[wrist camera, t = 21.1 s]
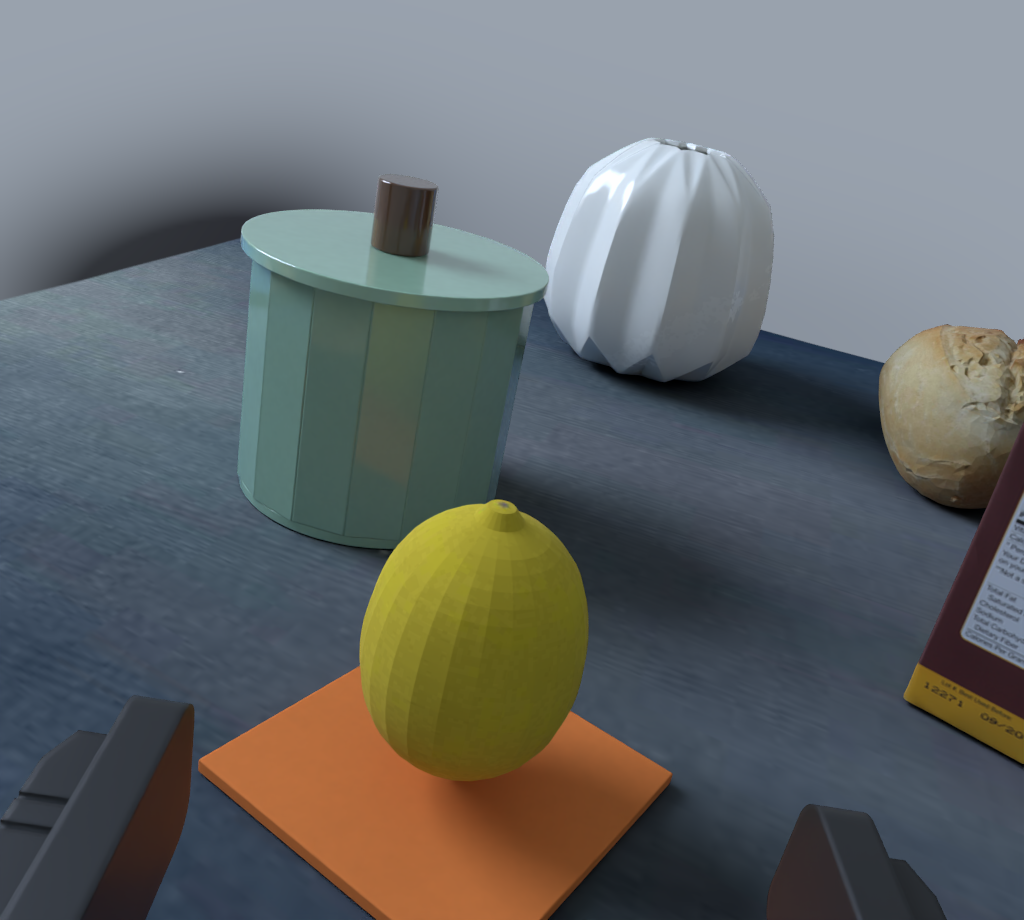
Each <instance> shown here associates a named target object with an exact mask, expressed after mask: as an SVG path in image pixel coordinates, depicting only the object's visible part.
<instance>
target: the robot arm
mask: <svg viewBox="0 0 1024 920" xmlns="http://www.w3.org/2000/svg"><path fill="white" fill-rule="evenodd" d="M193 732H194V707H193V705H192V704H188V703H181V702H175V701H169V700H162V699H156V698H150V697H143V696H137V695H134V696H132V697H130V699H129V700H128V701H127V702H126V704H125V706H124V707H123V709H122V711H121V712H120V714H119V716H118V717H117V719H116V721H115V723H114V724H113V726H112V728H111V729H110V731H109V733H108V734H100V733H94V732H87V731H81V730H78V731H77V732H75V733H74V734H73V735H71V736H70V737H69V738H67V739H66V740H65V741H63V742H62V743H60V744H59V745H58V746H56V747H55V748H54V749H52V750H51V751H50V752H48V753H47V754H46V755H44V756H43V757H42V758H41V759H40V761H39V762H38V764H37V765H36V767H35V769H34V770H33V772H32V773H31V775H30V776H29V778H28V779H27V781H26V782H25V784H24V785H23V787H22V788H21V790H20V791H19V796H18V798H15V799H14V800H13V802H12V803H11V805H10V806H9V808H8V809H7V811H6V812H5V814H4V816H3V817H2V819H1V822H0V920H145V919H146V917H147V914H148V912H149V910H150V907H151V905H152V903H153V900H154V898H155V896H156V893H157V891H158V889H159V886H160V884H161V882H162V879H163V877H164V874H165V872H166V870H167V867H168V865H169V863H170V860H171V858H172V856H173V853H174V851H175V849H176V846H177V844H178V841H179V838H180V835H181V832H182V829H183V825H184V822H185V817H186V813H187V808H188V803H189V796H190V782H191V765H192V748H193ZM767 920H947V919H946V917H945V915H944V913H943V911H942V908H941V906H940V904H939V902H938V900H937V898H936V896H935V895H934V894H933V892H932V891H931V890H930V889H929V888H928V887H927V885H926V884H925V883H924V882H923V881H922V880H921V878H920V877H919V876H918V875H917V874H916V873H915V871H914V870H913V869H912V868H911V867H910V866H909V864H908V863H907V862H906V861H904V860H898V859H891V858H889V857H888V854H887V852H886V849H885V847H884V845H883V842H882V840H881V838H880V835H879V833H878V831H877V828H876V826H875V824H874V822H873V820H872V819H871V817H870V816H869V815H868V814H866V813H864V812H858V811H852V810H846V809H839V808H833V807H827V806H820V805H814V804H809V805H806V806H805V807H804V808H803V810H802V811H801V813H800V815H799V818H798V820H797V822H796V825H795V827H794V830H793V832H792V834H791V837H790V839H789V842H788V844H787V846H786V849H785V851H784V854H783V856H782V858H781V861H780V863H779V866H778V868H777V870H776V873H775V875H774V878H773V880H772V883H771V885H770V889H769V893H768V899H767Z"/></svg>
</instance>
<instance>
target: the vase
mask: <svg viewBox="0 0 1024 920" xmlns="http://www.w3.org/2000/svg"><path fill="white" fill-rule="evenodd" d="M773 247H774V232H773V225H772V213H771V207H770V204H769V203H768V201H767V199H766V198H765V196H764V194H763V193H762V191H761V189H760V188H759V186H758V185H757V183H756V182H755V180H754V179H753V177H752V176H751V175H750V174H749V172H748V171H747V170H746V169H745V168H744V167H743V165H742V164H741V163H740V162H739V161H738V160H737V159H735V158H734V157H732V156H730V155H728V154H727V153H725V152H721V151H717V150H714V149H711V148H710V149H709V148H707V147H704V146H699V145H695V144H690V143H685V142H680V141H674V140H669V139H659V138H648V139H643V140H641V141H638V142H636V143H633V144H631V145H629V146H627V147H624V148H622V149H620V150H618V151H616V152H614V153H612V154H611V155H609V156H607V157H605V158H604V159H602V160H600V161H599V162H597V163H595V164H594V165H592V166H590V167H589V168H588V169H587V171H586V173H585V174H584V175H583V176H582V178H581V179H580V180H579V182H578V183H577V184H576V186H575V188H574V190H573V192H572V194H571V196H570V198H569V200H568V202H567V204H566V206H565V209H564V212H563V214H562V216H561V219H560V221H559V224H558V226H557V229H556V232H555V235H554V238H553V242H552V244H551V247H550V251H549V253H548V258H547V263H546V268H545V269H546V271H547V273H548V275H549V285H548V290H547V293H546V294H545V296H544V300H545V302H546V305H547V308H548V312H549V315H550V318H551V320H552V323H553V325H554V327H555V329H556V331H557V333H558V335H559V337H560V338H561V340H562V341H564V342H565V343H567V344H568V345H570V346H571V347H572V348H573V350H574V351H575V352H576V353H577V354H578V356H579V357H581V358H583V359H586V360H589V361H592V362H596V363H599V364H603V365H606V366H610V367H612V368H613V369H614V370H615V371H616V372H617V373H621V374H629V375H640V376H643V377H646V378H650V379H653V380H656V381H660V382H667V381H670V380H672V379H676V380H684V381H693V382H695V381H701V380H704V379H707V378H709V377H711V376H713V375H714V374H716V373H718V372H720V371H722V370H724V369H726V368H727V367H729V366H731V365H732V364H734V363H736V362H737V361H739V360H741V359H742V358H744V357H745V356H747V355H749V353H750V351H751V349H752V347H753V345H754V343H755V341H756V339H757V337H758V334H759V331H760V328H761V325H762V321H763V318H764V315H765V310H766V304H767V299H768V294H769V288H770V281H771V270H772V263H773Z"/></svg>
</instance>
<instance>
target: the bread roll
mask: <svg viewBox="0 0 1024 920" xmlns="http://www.w3.org/2000/svg"><path fill="white" fill-rule="evenodd" d="M879 406H880V417H881V425H882V430H883V434H884V438H885V442H886V444H887V447H888V450H889V453H890V455H891V457H892V460H893V462H894V464H895V466H896V468H897V470H898V471H899V473H900V475H901V476H902V477H903V479H904V480H905V481H906V482H907V483H908V484H909V485H910V486H911V487H913V488H915V489H916V490H917V491H918V492H919V493H920V494H921V495H923V496H926V497H928V498H930V499H932V500H933V501H935V502H937V503H940V504H942V505H945V506H950V507H955V508H964V509H978V508H987V506H988V503H989V501H990V499H991V496H992V494H993V492H994V489H995V487H996V485H997V482H998V480H999V478H1000V475H1001V473H1002V471H1003V468H1004V466H1005V464H1006V461H1007V459H1008V457H1009V454H1010V452H1011V450H1012V447H1013V445H1014V443H1015V440H1016V438H1017V436H1018V433H1019V431H1020V429H1021V426H1022V424H1023V422H1024V339H1023V340H1021V339H1020V340H1018V343H1017V344H1016V343H1015V342H1014V341H1013V340H1012V339H1011V338H1009V337H1008V336H1007V335H1006V334H1005V333H1004V332H1003V331H1002V330H997V329H985V328H974V327H964V326H951V325H948V324H947V325H942V326H938V327H935V328H931V329H928V330H925V331H922V332H920V333H918V334H916V335H915V336H913V337H912V338H911V339H909V340H908V341H907V342H905V343H904V344H903V345H902V346H901V347H899V349H897V350H896V351H895V352H894V353H893V354H892V355H891V356H890V358H889V359H888V360H887V361H886V363H885V364H884V366H883V368H882V370H881V373H880V378H879Z"/></svg>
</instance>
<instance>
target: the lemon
mask: <svg viewBox="0 0 1024 920" xmlns="http://www.w3.org/2000/svg"><path fill="white" fill-rule="evenodd" d="M588 629H589V626H588V608H587V600H586V595H585V591H584V586H583V582H582V578H581V574H580V572H579V569H578V567H577V564H576V563H575V561H574V560H573V558H572V557H571V555H570V553H569V552H568V550H567V549H566V548H565V546H564V545H563V543H562V542H561V541H560V540H559V539H558V538H557V537H556V535H555V534H554V533H552V532H551V531H550V530H549V529H548V528H547V527H546V526H544V525H543V524H542V523H540V522H539V521H538V520H536V519H534V518H533V517H531V516H529V515H527V514H525V513H523V512H520V511H518V509H517V508H516V506H515V505H514V504H512V503H510V502H508V501H505V500H491V501H490V502H488V503H486V504H472V505H465V506H461V507H457V508H453V509H449V510H446V511H444V512H441V513H439V514H437V515H435V516H433V517H431V518H429V519H428V520H426V521H424V522H423V523H421V524H420V525H418V526H417V527H415V528H414V529H413V530H412V531H411V532H410V533H409V534H408V535H407V536H406V537H405V538H404V539H403V540H402V541H401V542H400V543H399V544H398V546H397V547H396V548H395V550H394V551H393V552H392V554H391V555H390V557H389V558H388V560H387V562H386V564H385V566H384V567H383V569H382V572H381V574H380V576H379V578H378V580H377V583H376V586H375V588H374V591H373V594H372V596H371V599H370V602H369V605H368V607H367V611H366V614H365V617H364V621H363V626H362V631H361V639H360V669H361V682H362V690H363V695H364V700H365V703H366V705H367V708H368V711H369V713H370V715H371V717H372V719H373V722H374V724H375V726H376V728H377V729H378V731H379V733H380V735H381V736H382V737H383V738H384V739H385V741H386V742H387V743H388V744H389V745H390V746H391V747H392V749H393V750H394V751H395V752H396V753H397V754H398V755H399V756H400V757H402V758H403V759H404V760H406V761H407V762H409V763H410V764H411V765H413V766H414V767H416V768H418V769H420V770H422V771H424V772H426V773H429V774H431V775H433V776H436V777H440V778H444V779H449V780H454V781H476V780H483V779H489V778H495V777H498V776H500V775H503V774H505V773H508V772H511V771H513V770H515V769H517V768H519V767H521V766H522V765H523V764H525V763H526V762H527V761H529V760H530V759H532V758H533V757H534V756H536V755H537V754H538V753H540V752H541V751H542V750H543V749H544V748H545V747H546V746H547V745H548V744H549V743H550V741H551V740H552V738H553V737H554V735H555V734H556V732H557V731H558V729H559V728H560V726H561V725H562V723H563V722H564V721H565V719H566V718H567V716H568V714H569V712H570V710H571V708H572V706H573V703H574V701H575V699H576V696H577V693H578V690H579V686H580V683H581V678H582V674H583V669H584V664H585V659H586V654H587V646H588Z"/></svg>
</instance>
